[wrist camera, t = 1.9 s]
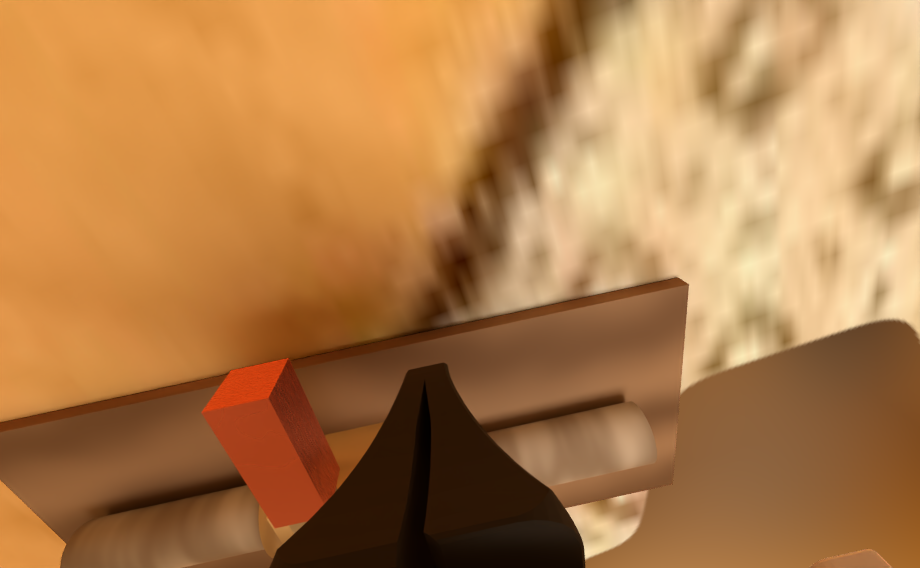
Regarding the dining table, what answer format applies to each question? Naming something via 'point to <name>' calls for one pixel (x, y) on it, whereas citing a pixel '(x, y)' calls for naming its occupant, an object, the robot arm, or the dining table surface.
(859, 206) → the dining table surface
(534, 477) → the robot arm
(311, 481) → the valve lever
